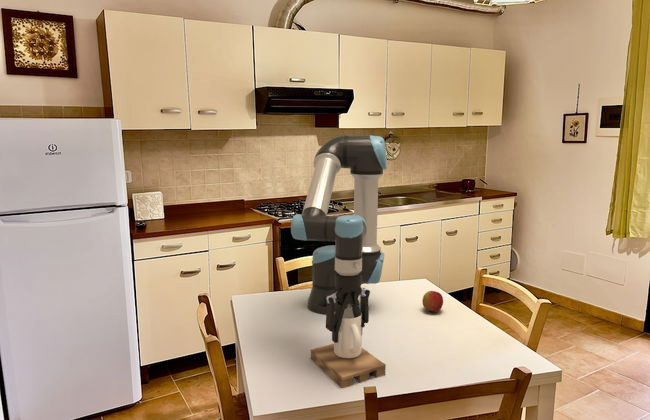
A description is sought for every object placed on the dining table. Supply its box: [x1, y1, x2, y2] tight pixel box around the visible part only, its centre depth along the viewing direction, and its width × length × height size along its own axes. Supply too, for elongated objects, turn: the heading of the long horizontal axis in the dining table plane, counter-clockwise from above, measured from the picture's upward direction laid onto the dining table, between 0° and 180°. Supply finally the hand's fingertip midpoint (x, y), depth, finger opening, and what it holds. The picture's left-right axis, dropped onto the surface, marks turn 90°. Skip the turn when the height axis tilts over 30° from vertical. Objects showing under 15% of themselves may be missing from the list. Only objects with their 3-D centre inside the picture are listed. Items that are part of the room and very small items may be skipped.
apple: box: [422, 290, 444, 313], centre depth 176 cm, size 8×8×8 cm
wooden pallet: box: [310, 343, 387, 389], centre depth 136 cm, size 18×14×3 cm
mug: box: [334, 307, 363, 358], centre depth 135 cm, size 8×12×12 cm
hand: (347, 349), depth 135 cm, fingers closed on mug, 6 cm apart
